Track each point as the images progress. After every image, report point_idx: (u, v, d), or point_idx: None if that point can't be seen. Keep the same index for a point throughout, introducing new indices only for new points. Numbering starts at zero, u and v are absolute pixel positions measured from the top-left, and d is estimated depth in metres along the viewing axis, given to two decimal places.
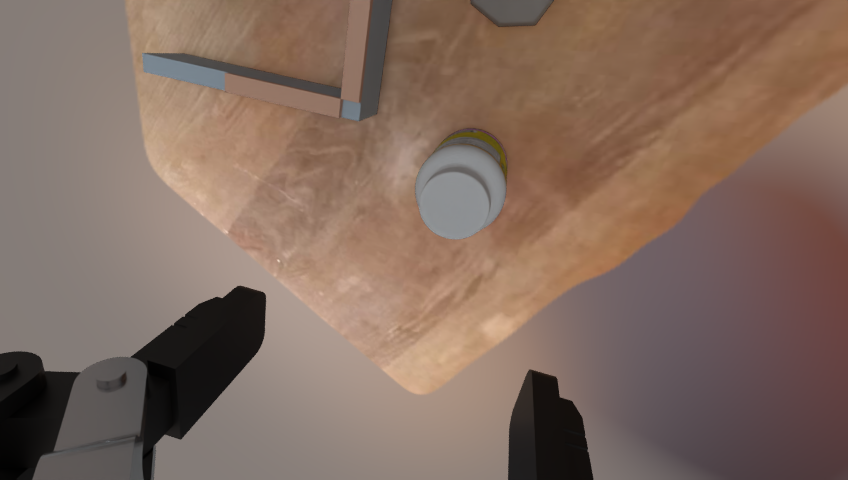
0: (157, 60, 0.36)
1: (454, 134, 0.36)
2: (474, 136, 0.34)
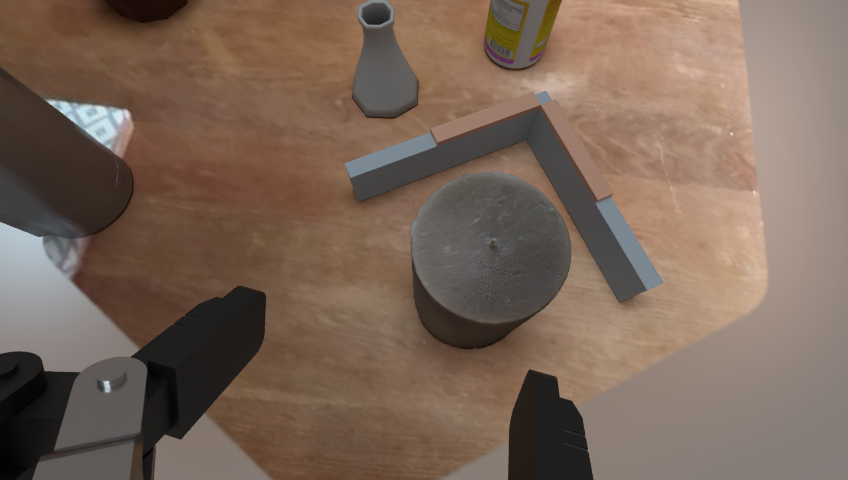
0: (640, 272, 0.34)
1: (502, 48, 0.44)
2: (492, 21, 0.42)
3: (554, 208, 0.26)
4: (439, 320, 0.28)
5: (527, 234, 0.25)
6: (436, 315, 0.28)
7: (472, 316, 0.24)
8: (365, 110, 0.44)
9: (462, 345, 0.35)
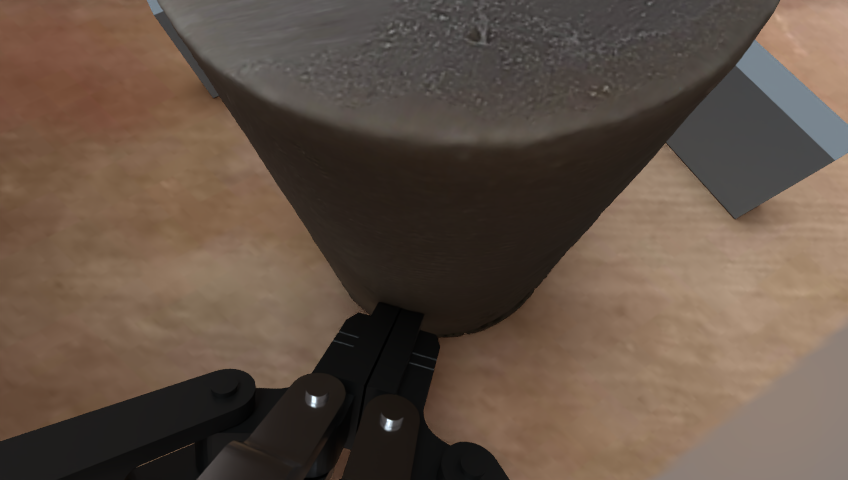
0: (809, 125, 0.15)
1: None
2: None
3: None
4: (340, 245, 0.09)
5: None
6: (321, 223, 0.09)
7: (411, 121, 0.05)
8: None
9: (436, 328, 0.16)
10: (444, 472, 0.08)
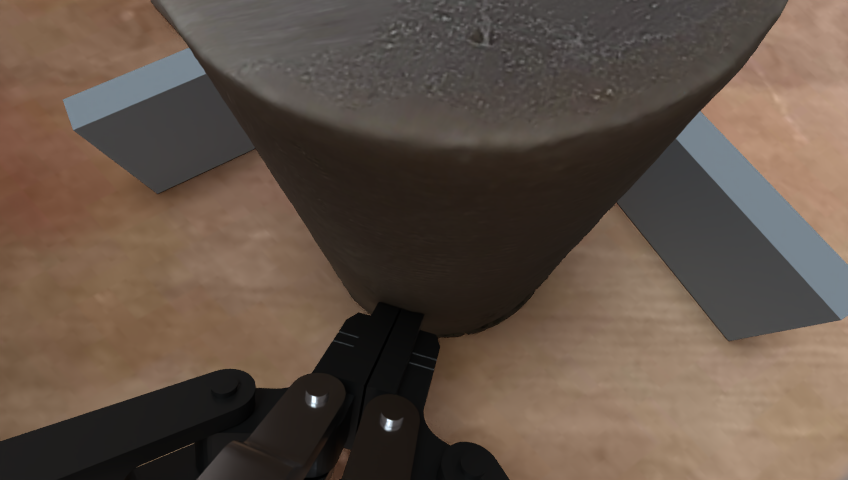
0: (811, 274, 0.13)
1: None
2: None
3: None
4: (340, 245, 0.09)
5: None
6: (321, 223, 0.09)
7: (412, 124, 0.05)
8: None
9: (436, 328, 0.16)
10: (444, 472, 0.08)
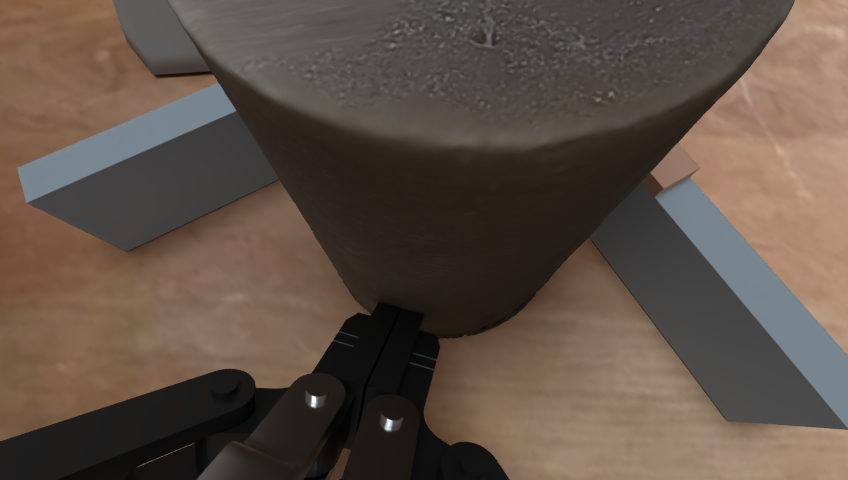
0: (816, 375, 0.12)
1: None
2: None
3: None
4: (341, 243, 0.09)
5: None
6: (322, 221, 0.09)
7: (413, 122, 0.05)
8: (148, 62, 0.22)
9: (436, 329, 0.16)
10: (444, 472, 0.08)
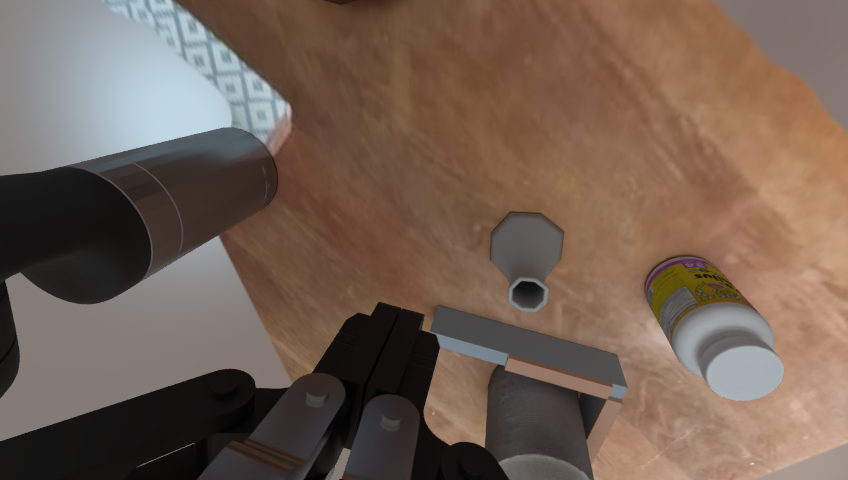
0: None
1: (651, 308, 0.39)
2: (660, 302, 0.37)
3: None
4: None
5: None
6: None
7: None
8: (491, 256, 0.43)
9: None
10: (444, 472, 0.08)
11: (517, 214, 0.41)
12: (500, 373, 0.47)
